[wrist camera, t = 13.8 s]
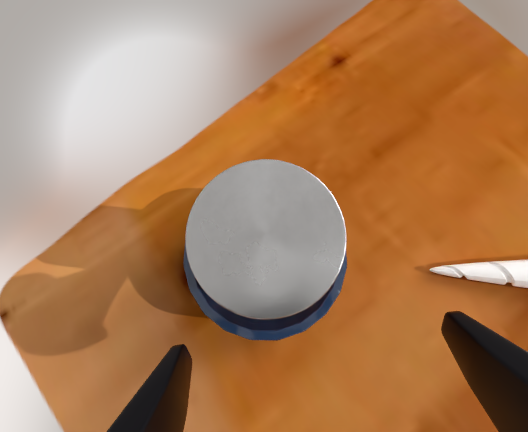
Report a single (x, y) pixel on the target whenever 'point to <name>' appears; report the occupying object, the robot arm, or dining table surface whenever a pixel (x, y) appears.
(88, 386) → the dining table surface
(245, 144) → the dining table surface
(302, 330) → the pot
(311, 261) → the tin
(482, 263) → the unicorn horn
